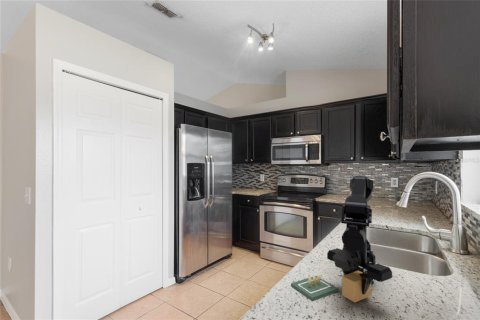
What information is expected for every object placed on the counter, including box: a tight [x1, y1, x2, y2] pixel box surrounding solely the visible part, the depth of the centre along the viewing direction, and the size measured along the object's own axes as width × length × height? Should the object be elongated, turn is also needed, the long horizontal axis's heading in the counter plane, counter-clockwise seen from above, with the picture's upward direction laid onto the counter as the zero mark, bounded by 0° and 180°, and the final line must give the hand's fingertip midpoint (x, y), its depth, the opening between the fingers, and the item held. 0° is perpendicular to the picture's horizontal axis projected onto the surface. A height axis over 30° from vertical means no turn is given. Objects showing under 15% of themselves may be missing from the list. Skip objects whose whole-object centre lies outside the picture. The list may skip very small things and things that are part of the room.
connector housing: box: [341, 271, 372, 303], centre depth 73 cm, size 8×4×6 cm, turn 118°
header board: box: [290, 274, 339, 302], centre depth 79 cm, size 12×10×4 cm
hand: (356, 290), depth 73 cm, fingers closed on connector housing, 4 cm apart
